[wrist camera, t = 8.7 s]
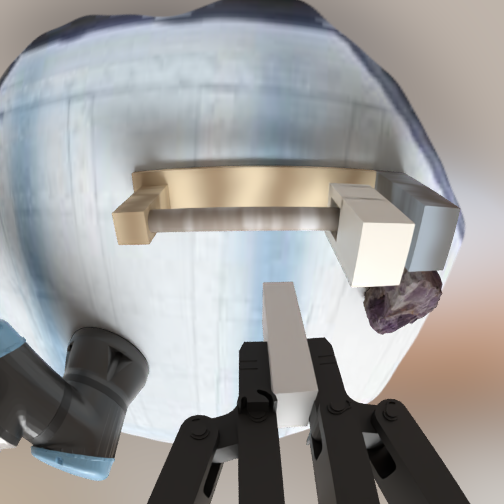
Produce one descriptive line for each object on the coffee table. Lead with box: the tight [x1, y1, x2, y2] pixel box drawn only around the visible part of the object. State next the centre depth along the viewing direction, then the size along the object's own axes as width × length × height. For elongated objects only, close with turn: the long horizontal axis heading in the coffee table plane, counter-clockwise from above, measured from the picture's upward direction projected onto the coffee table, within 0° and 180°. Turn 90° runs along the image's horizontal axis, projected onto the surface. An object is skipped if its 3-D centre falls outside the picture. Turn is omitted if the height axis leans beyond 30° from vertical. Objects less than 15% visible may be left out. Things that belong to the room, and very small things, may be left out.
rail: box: [112, 166, 460, 272], centre depth 26 cm, size 30×6×11 cm, turn 90°
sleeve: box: [325, 183, 415, 288], centre depth 23 cm, size 4×5×9 cm
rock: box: [363, 267, 442, 335], centre depth 32 cm, size 12×9×10 cm
